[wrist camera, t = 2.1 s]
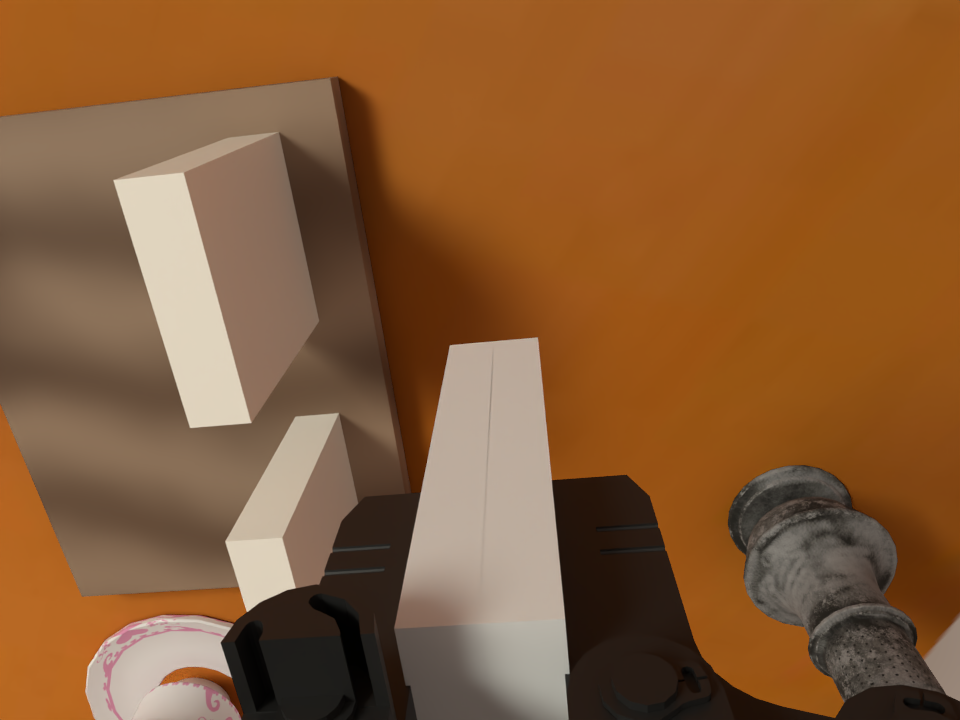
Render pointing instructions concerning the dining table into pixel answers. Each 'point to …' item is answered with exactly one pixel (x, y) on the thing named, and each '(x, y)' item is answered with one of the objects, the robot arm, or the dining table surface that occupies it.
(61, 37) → the dining table surface
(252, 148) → the tile
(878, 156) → the dining table surface
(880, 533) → the grey stone finial
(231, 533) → the tile
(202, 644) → the teacup
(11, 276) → the walnut board
